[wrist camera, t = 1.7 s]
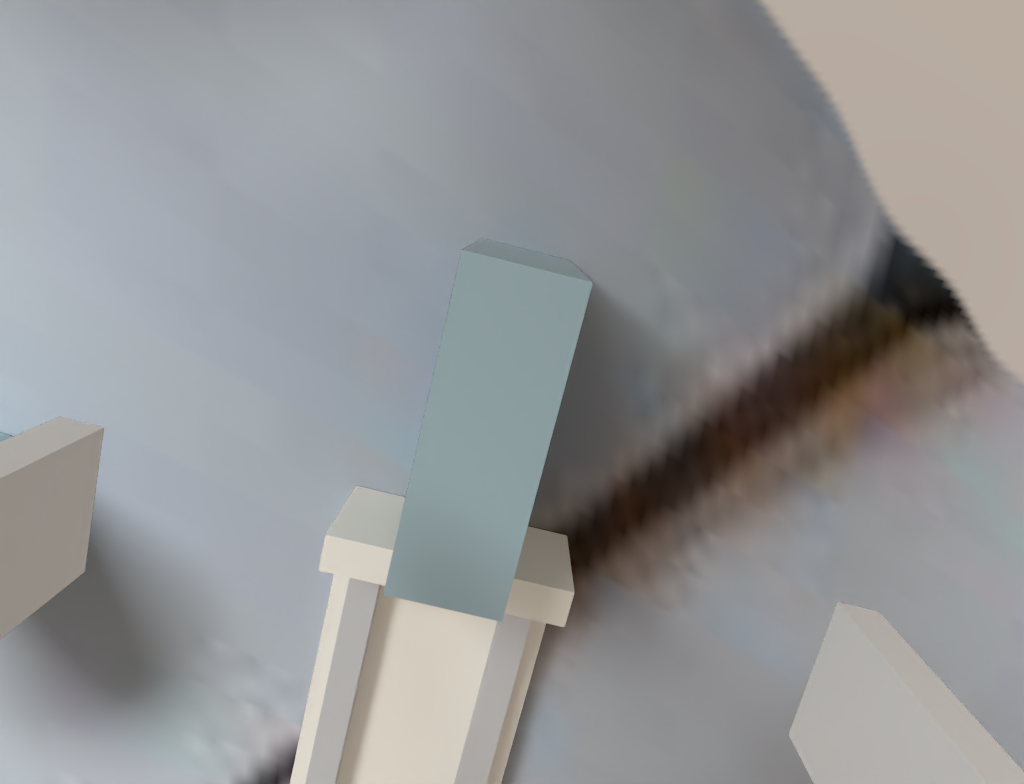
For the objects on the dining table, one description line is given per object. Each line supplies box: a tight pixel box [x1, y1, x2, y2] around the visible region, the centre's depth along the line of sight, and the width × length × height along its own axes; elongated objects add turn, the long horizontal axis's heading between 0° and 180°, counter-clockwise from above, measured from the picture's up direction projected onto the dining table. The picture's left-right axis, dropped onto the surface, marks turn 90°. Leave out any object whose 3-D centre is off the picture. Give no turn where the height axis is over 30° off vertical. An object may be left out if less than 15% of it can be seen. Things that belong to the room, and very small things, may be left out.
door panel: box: [383, 238, 593, 622], centre depth 26 cm, size 10×4×10 cm, turn 166°
